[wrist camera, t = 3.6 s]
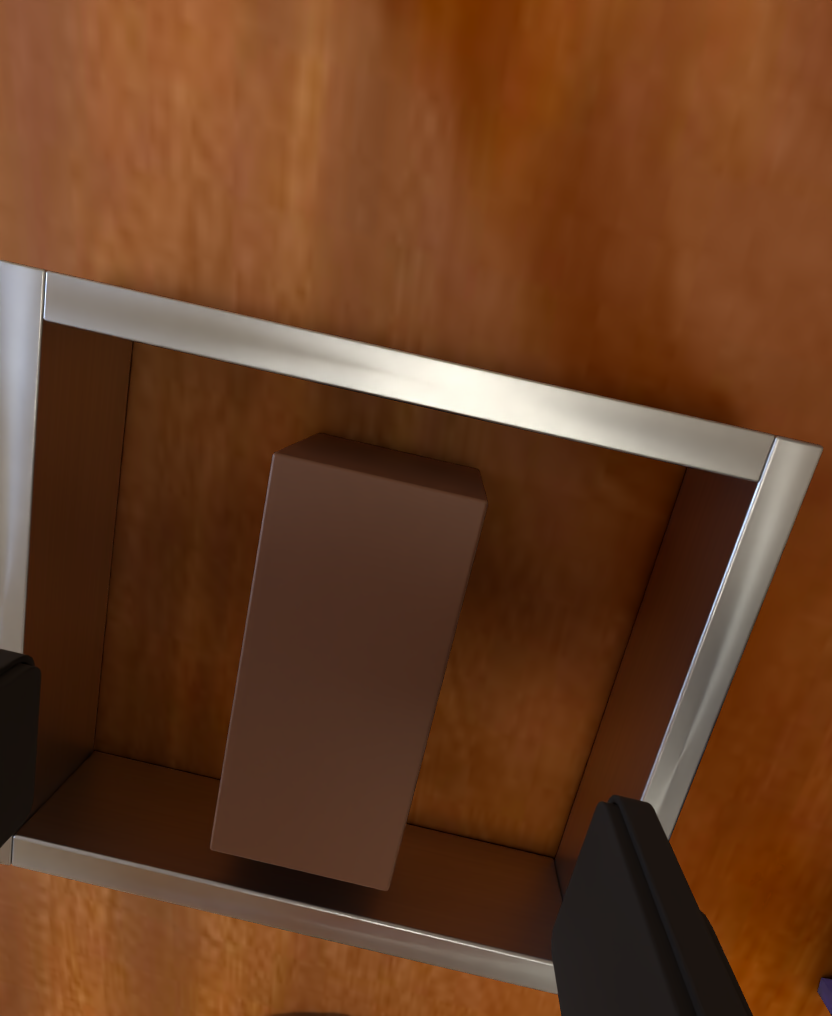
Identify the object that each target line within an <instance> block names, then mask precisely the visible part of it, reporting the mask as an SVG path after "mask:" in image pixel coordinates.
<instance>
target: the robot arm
mask: <svg viewBox="0 0 832 1016" xmlns="http://www.w3.org/2000/svg"><path fill="white" fill-rule="evenodd" d="M40 689H41V671H40V669H39V668H38V667H35V664H34V660H33V658H32V657H30V656H29V655H25V654H21V653H17V652H13V651H8V650H4V649H0V848H1V847H2V846H3V845H4V844H5V842H6V841H7V840H8V839H9V838H10V837H11V836H12V835H13V834H14V833H15V832H16V831H17V830H18V829H19V828H20V827H21V825H22V824H23V823H24V822H25V820H26V818H27V817H28V815H29V813H30V811H31V808H32V805H33V800H34V786H35V770H36V754H37V737H38V721H39V705H40ZM551 952H552V960H553V966H554V972H555V979H556V985H557V991H558V997H559V1003H560V1009H561V1016H753V1015H752V1012H751V1010H750V1008H749V1006H748V1004H747V1002H746V999H745V997H744V995H743V993H742V991H741V988H740V986H739V984H738V982H737V980H736V978H735V975H734V973H733V971H732V969H731V967H730V965H729V962H728V960H727V958H726V956H725V954H724V951H723V949H722V947H721V945H720V943H719V941H718V938H717V936H716V934H715V932H714V930H713V927H712V926H711V924H710V922H709V920H708V919H707V917H706V915H705V914H703V913H702V912H701V911H700V910H699V907H698V905H697V903H696V901H695V898H694V896H693V894H692V892H691V890H690V887H689V885H688V883H687V881H686V878H685V876H684V874H683V872H682V870H681V867H680V865H679V863H678V861H677V858H676V856H675V854H674V852H673V850H672V847H671V845H670V843H669V841H668V838H667V836H666V834H665V832H664V830H663V827H662V825H661V823H660V821H659V818H658V816H657V814H656V812H655V810H654V808H653V806H652V805H651V804H650V803H648V802H644V801H640V800H636V799H632V798H627V797H623V796H619V795H612V796H611V797H610V798H609V800H608V802H603V801H601V802H599V803H598V804H597V806H596V808H595V811H594V814H593V817H592V820H591V823H590V825H589V828H588V831H587V834H586V837H585V839H584V842H583V845H582V848H581V851H580V853H579V856H578V859H577V862H576V865H575V868H574V870H573V873H572V876H571V879H570V882H569V884H568V887H567V890H566V893H565V896H564V898H563V901H562V904H561V907H560V910H559V913H558V915H557V918H556V921H555V924H554V927H553V931H552V939H551Z"/></svg>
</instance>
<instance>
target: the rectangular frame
mask: <svg viewBox="0 0 832 1016" xmlns="http://www.w3.org/2000/svg"><path fill="white" fill-rule="evenodd" d="M133 341H135V342H139V343H144V344H148V345H152V346H157V347H161V348H166V349H170V350H174V351H179V352H183V353H188V354H192V355H196V356H201V357H205V358H210V359H214V360H219V361H223V362H227V363H232V364H236V365H241V366H245V367H249V368H254V369H258V370H263V371H267V372H271V373H276V374H280V375H285V376H289V377H293V378H298V379H302V380H307V381H311V382H315V383H320V384H324V385H329V386H333V387H337V388H342V389H346V390H351V391H355V392H359V393H364V394H368V395H373V396H377V397H381V398H386V399H390V400H395V401H399V402H403V403H408V404H412V405H417V406H421V407H426V408H430V409H434V410H439V411H443V412H448V413H452V414H456V415H461V416H465V417H470V418H474V419H478V420H483V421H487V422H492V423H496V424H500V425H505V426H509V427H514V428H518V429H522V430H527V431H531V432H536V433H540V434H544V435H549V436H553V437H558V438H562V439H566V440H571V441H575V442H580V443H584V444H588V445H593V446H597V447H602V448H606V449H610V450H615V451H619V452H624V453H628V454H633V455H637V456H641V457H646V458H650V459H655V460H659V461H663V462H668V463H672V464H677V465H681V466H685V467H688V468H687V471H686V474H685V477H684V480H683V482H682V485H681V488H680V491H679V494H678V497H677V500H676V503H675V506H674V509H673V512H672V515H671V518H670V521H669V524H668V527H667V530H666V533H665V536H664V539H663V542H662V544H661V547H660V550H659V553H658V556H657V559H656V562H655V565H654V568H653V571H652V574H651V577H650V580H649V583H648V586H647V589H646V592H645V595H644V598H643V601H642V604H641V606H640V609H639V612H638V615H637V618H636V621H635V624H634V627H633V630H632V633H631V636H630V639H629V642H628V645H627V648H626V651H625V654H624V657H623V660H622V663H621V666H620V669H619V671H618V674H617V677H616V680H615V683H614V686H613V689H612V692H611V695H610V698H609V701H608V704H607V707H606V710H605V713H604V716H603V719H602V722H601V725H600V728H599V731H598V733H597V736H596V739H595V742H594V745H593V748H592V751H591V754H590V757H589V760H588V763H587V766H586V769H585V772H584V775H583V778H582V781H581V784H580V787H579V790H578V793H577V795H576V798H575V801H574V804H573V807H572V810H571V813H570V816H569V819H568V822H567V825H566V828H565V831H564V834H563V837H562V840H561V843H560V846H559V849H558V852H557V855H556V858H555V860H554V859H552V858H550V857H545V856H541V855H537V854H533V853H528V852H524V851H520V850H516V849H511V848H507V847H503V846H498V845H494V844H490V843H486V842H481V841H477V840H473V839H469V838H464V837H460V836H456V835H452V834H447V833H443V832H439V831H434V830H430V829H426V828H422V827H417V826H413V825H409V824H406V826H405V830H404V833H403V837H402V841H401V845H400V849H399V853H398V857H397V861H396V865H395V868H394V872H393V876H392V880H391V884H390V888H389V889H388V891H383V890H379V889H375V888H371V887H366V886H362V885H358V884H354V883H349V882H345V881H341V880H337V879H332V878H328V877H324V876H320V875H315V874H311V873H307V872H303V871H298V870H294V869H290V868H286V867H281V866H277V865H273V864H269V863H264V862H260V861H256V860H252V859H247V858H243V857H239V856H235V855H230V854H226V853H222V852H218V851H213V850H211V849H210V843H211V836H212V830H213V824H214V818H215V811H216V805H217V799H218V793H219V787H220V780H217V779H212V778H208V777H204V776H200V775H195V774H191V773H187V772H183V771H178V770H174V769H170V768H166V767H161V766H157V765H153V764H148V763H144V762H140V761H136V760H131V759H127V758H123V757H119V756H114V755H110V754H106V753H102V752H97V751H94V752H93V748H94V737H95V727H96V717H97V706H98V696H99V685H100V675H101V664H102V654H103V644H104V633H105V623H106V612H107V602H108V592H109V581H110V571H111V560H112V550H113V540H114V529H115V519H116V508H117V498H118V488H119V477H120V467H121V456H122V446H123V435H124V425H125V415H126V404H127V394H128V383H129V373H130V363H131V352H132V342H133ZM822 451H823V447H822V446H821V445H818V444H814V443H809V442H805V441H800V440H796V439H791V438H787V437H783V436H778V435H773V434H769V433H765V432H761V431H756V430H752V429H747V428H743V427H739V426H734V425H730V424H725V423H721V422H716V421H712V420H708V419H703V418H699V417H694V416H690V415H685V414H681V413H677V412H672V411H668V410H663V409H659V408H655V407H650V406H646V405H641V404H637V403H632V402H628V401H624V400H619V399H615V398H610V397H606V396H601V395H597V394H593V393H588V392H584V391H579V390H575V389H571V388H566V387H562V386H557V385H553V384H548V383H544V382H540V381H535V380H531V379H526V378H522V377H517V376H513V375H509V374H504V373H500V372H495V371H491V370H487V369H482V368H478V367H473V366H469V365H464V364H460V363H456V362H451V361H447V360H442V359H438V358H433V357H429V356H425V355H420V354H416V353H411V352H407V351H403V350H398V349H394V348H389V347H385V346H380V345H376V344H372V343H367V342H363V341H358V340H354V339H349V338H345V337H341V336H336V335H332V334H327V333H323V332H319V331H314V330H310V329H305V328H301V327H296V326H292V325H288V324H283V323H279V322H274V321H270V320H265V319H261V318H257V317H252V316H248V315H243V314H239V313H234V312H230V311H226V310H221V309H217V308H212V307H208V306H204V305H199V304H195V303H190V302H186V301H181V300H177V299H173V298H168V297H164V296H159V295H155V294H150V293H146V292H142V291H137V290H133V289H128V288H124V287H120V286H115V285H111V284H106V283H102V282H97V281H93V280H89V279H84V278H80V277H75V276H71V275H66V274H62V273H58V272H53V271H48V270H44V269H40V268H36V267H31V266H27V265H22V264H18V263H13V262H9V261H5V260H0V649H4V650H8V651H13V652H17V653H21V654H25V655H29V656H30V657H32V658H33V660H34V664H35V667H38V668H39V669H40V671H41V689H40V705H39V721H38V737H37V754H36V770H35V786H34V800H33V805H32V808H31V811H30V813H29V815H28V817H27V818H26V820H25V822H24V823H23V824H22V825H21V827H20V828H19V829H18V830H17V831H16V832H15V833H14V834H13V835H12V836H11V837H10V838H9V839H8V840H7V841H6V842H5V844H4V845H3V846H2V847H1V848H0V863H1V864H5V865H11V864H12V865H13V866H17V867H21V868H25V869H29V870H34V871H38V872H42V873H46V874H51V875H55V876H59V877H63V878H67V879H72V880H76V881H80V882H84V883H89V884H93V885H97V886H101V887H105V888H110V889H114V890H118V891H122V892H127V893H131V894H135V895H139V896H144V897H148V898H152V899H156V900H160V901H165V902H169V903H173V904H177V905H182V906H186V907H190V908H194V909H198V910H203V911H207V912H211V913H215V914H220V915H224V916H228V917H232V918H237V919H241V920H245V921H249V922H253V923H258V924H262V925H266V926H270V927H275V928H279V929H283V930H287V931H291V932H296V933H300V934H304V935H308V936H313V937H317V938H321V939H325V940H330V941H334V942H338V943H342V944H346V945H351V946H355V947H359V948H363V949H368V950H372V951H376V952H380V953H384V954H389V955H393V956H397V957H401V958H406V959H410V960H414V961H418V962H423V963H427V964H431V965H435V966H439V967H444V968H448V969H452V970H456V971H461V972H465V973H469V974H473V975H477V976H482V977H486V978H490V979H494V980H499V981H503V982H507V983H511V984H515V985H520V986H524V987H528V988H532V989H537V990H541V991H545V992H549V993H554V994H558V991H557V985H556V979H555V972H554V966H553V960H552V952H551V939H552V931H553V927H554V924H555V921H556V918H557V915H558V913H559V910H560V907H561V904H562V901H563V898H564V896H565V893H566V890H567V887H568V884H569V882H570V879H571V876H572V873H573V870H574V868H575V865H576V862H577V859H578V856H579V853H580V851H581V848H582V845H583V842H584V839H585V837H586V834H587V831H588V828H589V825H590V823H591V820H592V817H593V814H594V811H595V808H596V806H597V804H598V803H599V802H601V801H603V802H608V800H609V798H610V797H611V796H612V795H619V796H623V797H627V798H632V799H636V800H640V801H644V802H648V803H650V804H651V805H652V806H653V808H654V810H655V812H656V814H657V816H658V818H659V821H660V823H661V825H662V827H663V830H664V832H665V834H666V836H667V838H668V841H669V840H670V837H671V835H672V832H673V830H674V827H675V825H676V822H677V819H678V817H679V814H680V812H681V809H682V807H683V804H684V802H685V799H686V797H687V794H688V792H689V789H690V786H691V784H692V781H693V779H694V776H695V774H696V771H697V769H698V766H699V764H700V761H701V758H702V756H703V753H704V751H705V748H706V746H707V743H708V741H709V738H710V736H711V733H712V731H713V728H714V725H715V723H716V720H717V718H718V715H719V713H720V710H721V708H722V705H723V703H724V700H725V698H726V695H727V692H728V690H729V687H730V685H731V682H732V680H733V677H734V675H735V672H736V670H737V667H738V664H739V662H740V659H741V657H742V654H743V652H744V649H745V647H746V644H747V642H748V639H749V637H750V634H751V631H752V629H753V626H754V624H755V621H756V619H757V616H758V614H759V611H760V609H761V606H762V603H763V601H764V598H765V596H766V593H767V591H768V588H769V586H770V583H771V581H772V578H773V576H774V573H775V570H776V568H777V565H778V563H779V560H780V558H781V555H782V553H783V550H784V548H785V545H786V543H787V540H788V537H789V535H790V532H791V530H792V527H793V525H794V522H795V520H796V517H797V515H798V512H799V509H800V507H801V504H802V502H803V499H804V497H805V494H806V492H807V489H808V487H809V484H810V482H811V479H812V476H813V474H814V471H815V469H816V466H817V464H818V461H819V459H820V456H821V454H822Z"/></svg>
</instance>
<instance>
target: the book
mask: <svg viewBox="0 0 832 1016" xmlns="http://www.w3.org/2000/svg"><path fill="white" fill-rule="evenodd" d="M817 992H818V994H819V995H820V997H821V999H822V1000H823V1002H824V1004H825V1005H826V1007H827V1009H828V1010H829V1012H830V1014H831V1015H832V979H828V978H821V981H820V985H819V988H818V991H817Z"/></svg>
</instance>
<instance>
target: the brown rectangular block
mask: <svg viewBox="0 0 832 1016" xmlns="http://www.w3.org/2000/svg"><path fill="white" fill-rule="evenodd" d="M487 507H488V501H487V497H486V493H485V490H484V486H483V483H482V479H481V476H480V472H479V470H478V469H475V468H470V467H466V466H461V465H457V464H453V463H448V462H444V461H439V460H435V459H431V458H426V457H422V456H417V455H413V454H409V453H404V452H400V451H396V450H391V449H387V448H382V447H378V446H374V445H369V444H365V443H360V442H356V441H352V440H347V439H343V438H338V437H334V436H330V435H325V434H321V433H318V434H316V435H313V436H311V437H309V438H306V439H304V440H302V441H300V442H297V443H295V444H293V445H290V446H288V447H286V448H284V449H281V450H279V451H277V452H274V454H273V456H272V462H271V468H270V475H269V481H268V487H267V493H266V500H265V506H264V512H263V518H262V525H261V531H260V537H259V543H258V549H257V556H256V562H255V568H254V574H253V581H252V587H251V593H250V599H249V606H248V612H247V618H246V624H245V631H244V637H243V643H242V649H241V656H240V662H239V668H238V674H237V680H236V687H235V693H234V699H233V705H232V712H231V718H230V724H229V730H228V737H227V743H226V749H225V755H224V762H223V768H222V774H221V780H220V787H219V793H218V799H217V805H216V811H215V818H214V824H213V830H212V836H211V843H210V849H211V850H213V851H218V852H222V853H226V854H230V855H235V856H239V857H243V858H247V859H252V860H256V861H260V862H264V863H269V864H273V865H277V866H281V867H286V868H290V869H294V870H298V871H303V872H307V873H311V874H315V875H320V876H324V877H328V878H332V879H337V880H341V881H345V882H349V883H354V884H358V885H362V886H366V887H371V888H375V889H379V890H383V891H388V889H389V888H390V884H391V880H392V876H393V872H394V868H395V865H396V861H397V857H398V853H399V849H400V845H401V841H402V837H403V833H404V830H405V826H406V822H407V818H408V814H409V810H410V806H411V802H412V798H413V795H414V791H415V787H416V783H417V779H418V775H419V771H420V767H421V764H422V760H423V756H424V752H425V748H426V744H427V740H428V736H429V732H430V729H431V725H432V721H433V717H434V713H435V709H436V705H437V701H438V697H439V694H440V690H441V686H442V682H443V678H444V674H445V670H446V666H447V663H448V659H449V655H450V651H451V647H452V643H453V639H454V635H455V631H456V628H457V624H458V620H459V616H460V612H461V608H462V604H463V600H464V596H465V593H466V589H467V585H468V581H469V577H470V573H471V569H472V565H473V562H474V558H475V554H476V550H477V546H478V542H479V538H480V534H481V530H482V527H483V523H484V519H485V515H486V511H487Z"/></svg>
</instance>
